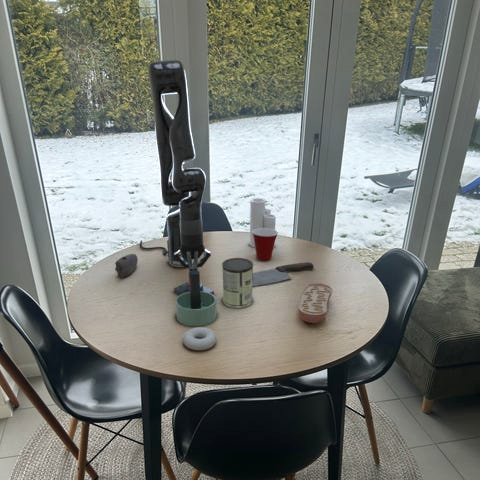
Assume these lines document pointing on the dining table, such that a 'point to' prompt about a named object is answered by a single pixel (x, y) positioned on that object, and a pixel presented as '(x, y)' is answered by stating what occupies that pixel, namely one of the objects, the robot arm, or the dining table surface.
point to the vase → (260, 217)
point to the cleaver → (278, 273)
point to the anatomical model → (314, 302)
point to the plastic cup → (264, 242)
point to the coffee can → (237, 282)
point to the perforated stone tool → (126, 265)
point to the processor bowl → (196, 310)
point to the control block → (185, 288)
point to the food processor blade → (194, 290)
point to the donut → (199, 344)
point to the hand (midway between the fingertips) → (193, 277)
